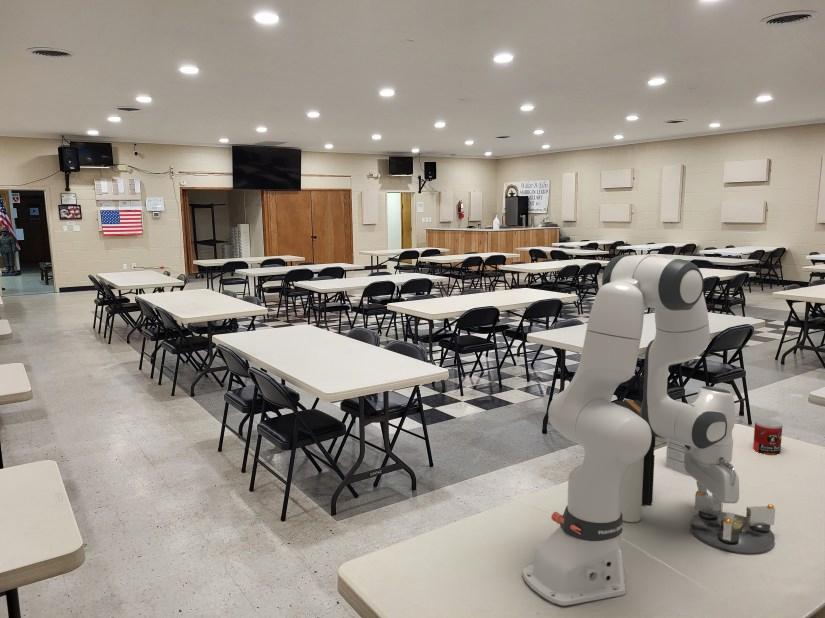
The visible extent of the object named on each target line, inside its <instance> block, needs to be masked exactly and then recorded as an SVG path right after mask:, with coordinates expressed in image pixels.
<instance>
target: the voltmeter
mask: <svg viewBox="0 0 825 618" xmlns="http://www.w3.org/2000/svg"><path fill="white" fill-rule="evenodd" d="M613 403H614V404H617V405H620V406H622V407H625V408H628V409H630V410H631V411H633V412H634V413H636V414H637V415H638V416H640V410H641V406H642V401H640V400H638V399H635V400H632V399H623V400H616V401H614V402H613ZM655 447H656V437H655V436H652V439H651V445H650V448H649V450H648V452H647V453H646V455H645V456H644V465H643V487H642V504H647V506H648V505H649V506H651V505H652V504H653V496H654V477H655V475H654V474H655V473H654V472H655Z"/></svg>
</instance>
